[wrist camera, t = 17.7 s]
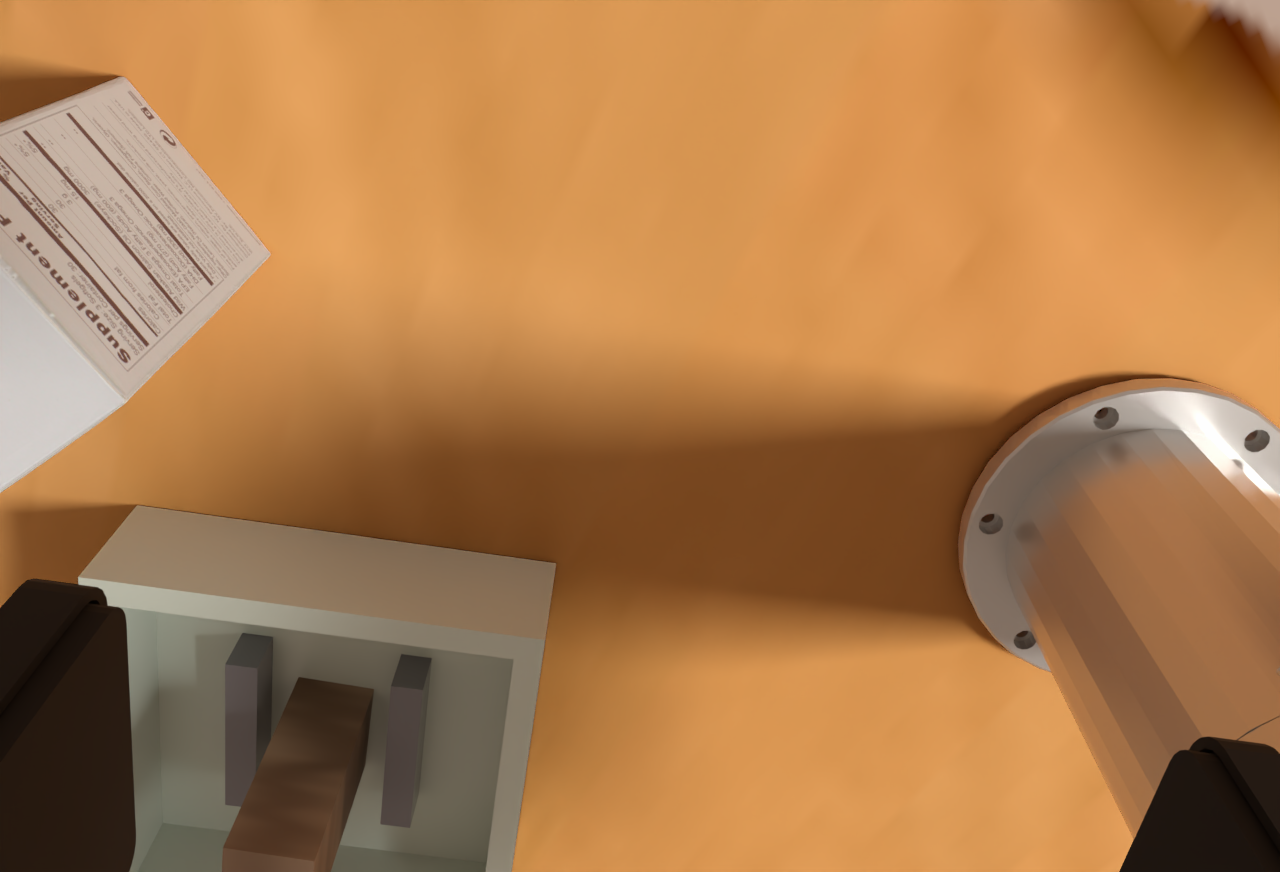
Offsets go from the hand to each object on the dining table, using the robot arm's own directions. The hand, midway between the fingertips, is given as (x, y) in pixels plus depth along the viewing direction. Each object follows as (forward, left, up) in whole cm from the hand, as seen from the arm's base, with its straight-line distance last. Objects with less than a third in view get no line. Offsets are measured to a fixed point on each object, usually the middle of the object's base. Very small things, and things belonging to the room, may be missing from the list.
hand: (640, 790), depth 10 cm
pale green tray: (+9, +25, -30) cm, 40 cm away
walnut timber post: (+9, +25, -29) cm, 40 cm away
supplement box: (+17, +6, -31) cm, 35 cm away
